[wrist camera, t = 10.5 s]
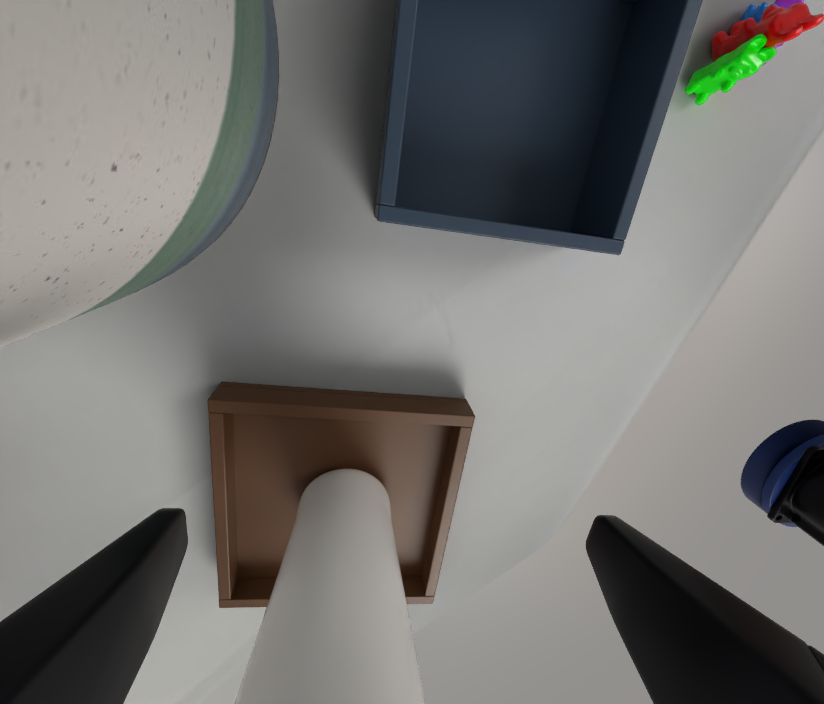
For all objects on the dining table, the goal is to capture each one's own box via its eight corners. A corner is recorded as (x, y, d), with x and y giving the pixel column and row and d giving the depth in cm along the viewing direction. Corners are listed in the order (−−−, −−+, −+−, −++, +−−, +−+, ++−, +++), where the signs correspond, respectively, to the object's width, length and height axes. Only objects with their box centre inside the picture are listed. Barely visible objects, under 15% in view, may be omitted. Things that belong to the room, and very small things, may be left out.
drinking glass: (404, 533, 25) (454, 956, 11) (298, 548, 24) (209, 1014, 10) (396, 446, 22) (448, 853, 8) (278, 460, 22) (121, 923, 8)
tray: (428, 576, 27) (433, 603, 25) (229, 578, 25) (219, 608, 23) (466, 398, 22) (475, 416, 20) (221, 381, 20) (207, 399, 18)
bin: (572, 245, 20) (620, 255, 16) (374, 216, 18) (377, 220, 14) (641, -3, 16) (724, -64, 12) (401, -67, 14) (415, -159, 11)
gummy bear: (779, -12, 16) (882, -65, 13) (784, 56, 18) (881, 23, 14) (671, 49, 17) (745, 12, 14) (683, 112, 18) (754, 92, 15)
